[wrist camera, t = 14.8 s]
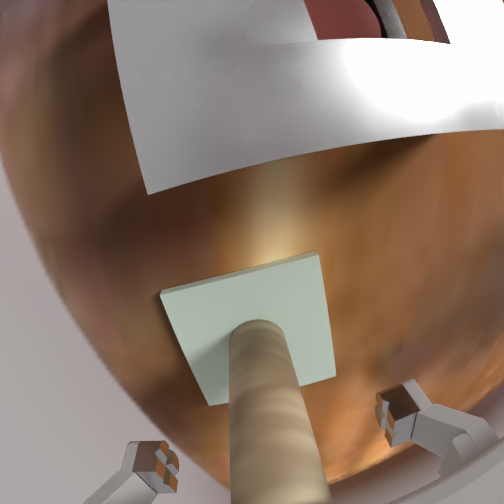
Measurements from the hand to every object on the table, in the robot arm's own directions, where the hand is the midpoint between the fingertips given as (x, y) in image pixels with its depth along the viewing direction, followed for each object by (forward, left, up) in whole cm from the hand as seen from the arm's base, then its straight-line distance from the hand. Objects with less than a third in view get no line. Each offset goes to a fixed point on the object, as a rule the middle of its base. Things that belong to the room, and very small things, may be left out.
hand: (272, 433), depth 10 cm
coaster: (0, 0, -7) cm, 7 cm away
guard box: (-6, -15, -7) cm, 18 cm away
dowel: (0, 0, -6) cm, 6 cm away
